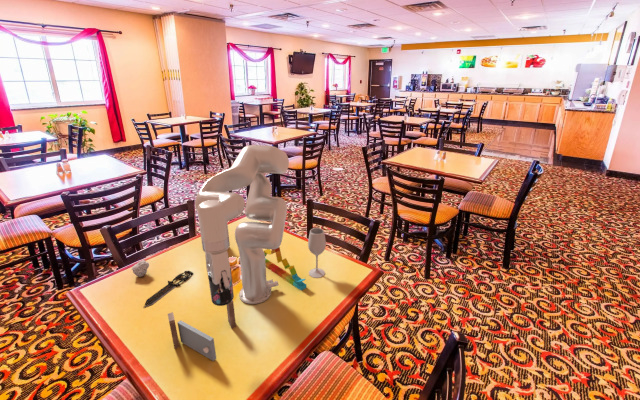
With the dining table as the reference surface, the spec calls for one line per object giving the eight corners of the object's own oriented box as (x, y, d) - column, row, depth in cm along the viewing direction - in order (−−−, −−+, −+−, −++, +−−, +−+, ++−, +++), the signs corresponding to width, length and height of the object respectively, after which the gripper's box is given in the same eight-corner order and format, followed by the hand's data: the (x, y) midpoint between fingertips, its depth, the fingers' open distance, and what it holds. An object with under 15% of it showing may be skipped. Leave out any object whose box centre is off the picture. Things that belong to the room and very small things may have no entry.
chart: (306, 287, 134) (306, 256, 129) (301, 291, 132) (300, 259, 127) (264, 260, 154) (262, 232, 149) (258, 262, 152) (256, 234, 147)
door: (178, 344, 104) (174, 324, 102) (184, 339, 106) (180, 320, 103) (210, 363, 97) (207, 343, 95) (216, 358, 99) (213, 338, 96)
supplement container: (208, 306, 96) (204, 277, 93) (215, 292, 103) (212, 264, 99) (230, 307, 96) (227, 277, 93) (236, 293, 103) (233, 265, 99)
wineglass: (305, 275, 142) (305, 233, 134) (312, 267, 148) (312, 226, 141) (321, 279, 139) (321, 236, 132) (327, 270, 146) (328, 228, 138)
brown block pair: (232, 319, 116) (229, 294, 112) (235, 326, 113) (233, 300, 109) (172, 340, 106) (167, 313, 103) (174, 348, 103) (169, 321, 99)
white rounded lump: (150, 277, 140) (147, 264, 137) (132, 281, 137) (128, 266, 135) (151, 270, 145) (149, 257, 143) (134, 273, 143) (131, 259, 140)
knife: (146, 310, 121) (145, 307, 120) (134, 305, 124) (134, 302, 123) (196, 275, 142) (196, 273, 142) (186, 271, 145) (185, 269, 144)
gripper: (195, 234, 97) (202, 283, 104) (210, 259, 84) (217, 315, 90) (220, 228, 101) (225, 276, 107) (238, 252, 87) (243, 305, 94)
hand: (222, 293), depth 99 cm, fingers closed on supplement container, 6 cm apart
